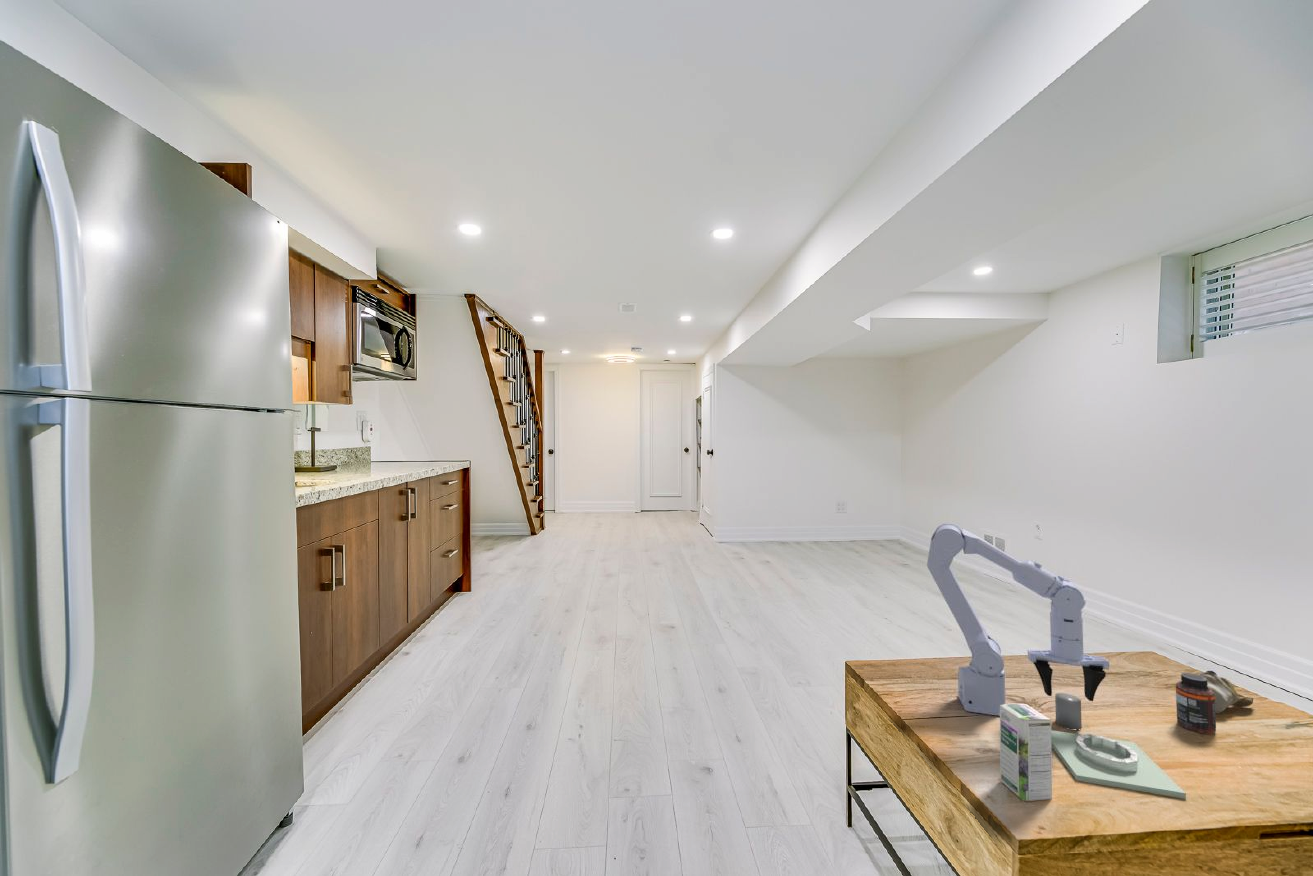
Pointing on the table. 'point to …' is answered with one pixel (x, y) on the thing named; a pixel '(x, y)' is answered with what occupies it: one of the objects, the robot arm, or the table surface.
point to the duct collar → (1104, 761)
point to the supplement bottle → (1195, 704)
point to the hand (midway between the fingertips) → (1068, 696)
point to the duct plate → (1142, 780)
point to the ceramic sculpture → (1224, 692)
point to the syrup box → (1025, 752)
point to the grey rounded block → (1068, 711)
